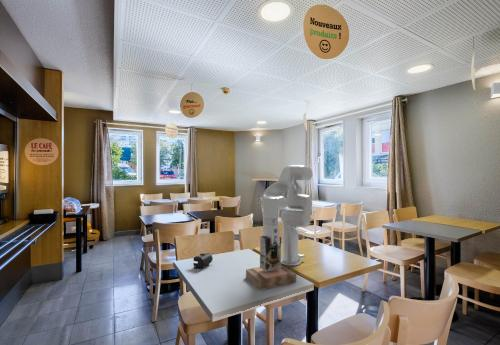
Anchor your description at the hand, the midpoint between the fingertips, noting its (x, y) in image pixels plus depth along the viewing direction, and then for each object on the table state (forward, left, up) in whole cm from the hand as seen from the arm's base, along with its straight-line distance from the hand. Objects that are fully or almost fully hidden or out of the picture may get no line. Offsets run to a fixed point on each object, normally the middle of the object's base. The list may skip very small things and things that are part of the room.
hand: (270, 256), depth 128 cm
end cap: (+26, -33, -12) cm, 44 cm away
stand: (0, 0, -12) cm, 12 cm away
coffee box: (0, 0, -6) cm, 6 cm away
